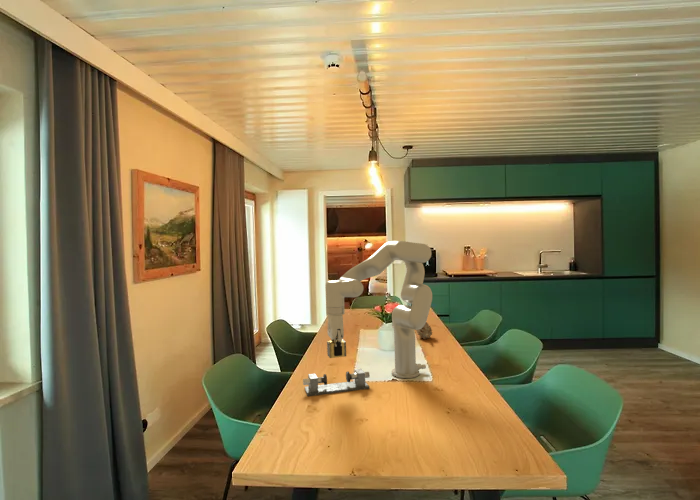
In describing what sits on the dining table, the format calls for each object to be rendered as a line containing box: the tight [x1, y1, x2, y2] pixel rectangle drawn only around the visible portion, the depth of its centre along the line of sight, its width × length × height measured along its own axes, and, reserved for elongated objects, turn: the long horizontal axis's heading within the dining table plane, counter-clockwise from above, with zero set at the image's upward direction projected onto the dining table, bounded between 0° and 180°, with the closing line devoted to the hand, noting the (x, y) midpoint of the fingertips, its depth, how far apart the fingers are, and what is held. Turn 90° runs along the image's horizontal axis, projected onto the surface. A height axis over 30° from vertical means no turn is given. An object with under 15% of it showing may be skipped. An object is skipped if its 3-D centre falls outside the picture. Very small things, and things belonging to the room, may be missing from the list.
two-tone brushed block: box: [326, 338, 347, 359], centre depth 167 cm, size 7×4×6 cm, turn 105°
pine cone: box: [415, 321, 433, 340], centre depth 244 cm, size 22×10×10 cm, turn 3°
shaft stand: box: [302, 368, 370, 397], centre depth 168 cm, size 28×8×7 cm, turn 104°
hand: (336, 353), depth 167 cm, fingers closed on two-tone brushed block, 4 cm apart
